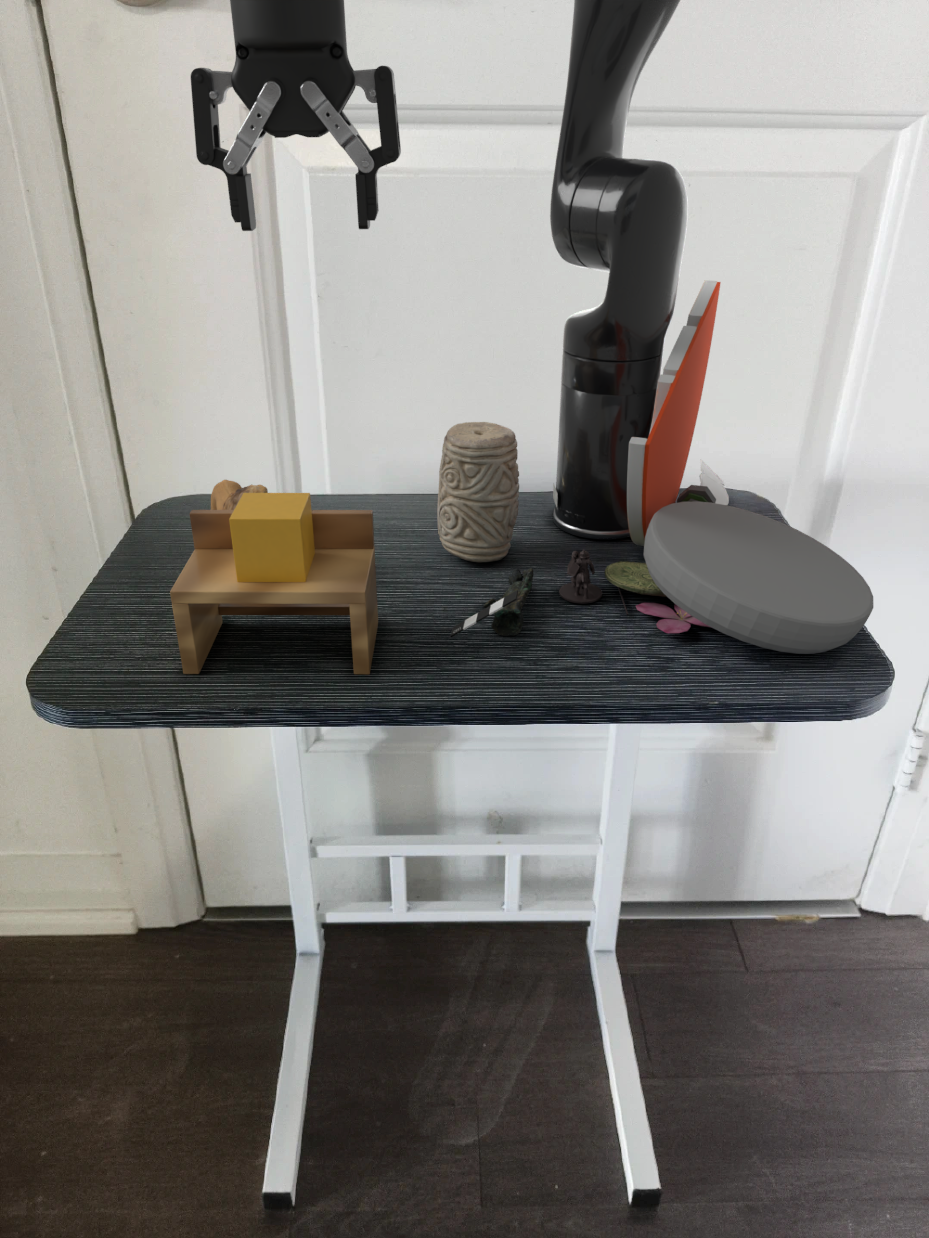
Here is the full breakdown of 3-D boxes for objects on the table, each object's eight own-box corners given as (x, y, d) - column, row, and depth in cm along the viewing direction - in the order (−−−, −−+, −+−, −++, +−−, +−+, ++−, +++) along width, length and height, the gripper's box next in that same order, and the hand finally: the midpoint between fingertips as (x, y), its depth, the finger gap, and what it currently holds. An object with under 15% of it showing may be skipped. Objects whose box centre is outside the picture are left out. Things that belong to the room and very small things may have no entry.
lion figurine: (301, 582, 86) (292, 487, 81) (245, 597, 83) (233, 500, 79) (237, 527, 96) (227, 440, 92) (186, 539, 94) (172, 450, 90)
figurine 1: (450, 636, 75) (471, 559, 85) (481, 672, 76) (498, 592, 86) (515, 598, 72) (529, 524, 82) (546, 636, 74) (556, 558, 84)
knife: (725, 495, 108) (686, 472, 108) (746, 464, 106) (706, 441, 106) (698, 576, 89) (651, 549, 90) (723, 541, 87) (674, 513, 87)
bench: (183, 674, 72) (163, 553, 68) (208, 622, 79) (191, 509, 75) (369, 674, 72) (363, 553, 68) (378, 622, 79) (372, 509, 75)
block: (237, 582, 70) (228, 518, 68) (250, 553, 75) (243, 492, 72) (305, 582, 70) (299, 519, 68) (315, 553, 75) (310, 492, 72)
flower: (650, 596, 84) (651, 586, 84) (742, 615, 81) (743, 604, 80) (618, 630, 78) (618, 619, 78) (716, 651, 74) (717, 640, 74)
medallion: (634, 599, 79) (635, 590, 78) (587, 566, 85) (589, 558, 85) (714, 597, 82) (716, 589, 82) (663, 566, 89) (665, 559, 88)
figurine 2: (614, 572, 87) (618, 531, 85) (629, 615, 80) (633, 571, 78) (554, 572, 87) (556, 531, 85) (563, 615, 80) (566, 571, 78)
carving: (525, 564, 89) (529, 438, 83) (445, 571, 87) (443, 444, 81) (508, 536, 94) (511, 416, 88) (432, 543, 93) (430, 421, 87)
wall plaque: (705, 277, 94) (628, 442, 74) (721, 279, 94) (648, 445, 74) (684, 439, 107) (615, 616, 87) (699, 441, 107) (632, 620, 87)
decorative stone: (629, 483, 83) (610, 533, 86) (685, 598, 68) (660, 655, 70) (821, 524, 87) (797, 571, 89) (916, 641, 71) (884, 694, 74)
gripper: (396, -31, 67) (405, 221, 75) (189, -29, 67) (221, 223, 75) (389, -42, 60) (400, 235, 68) (160, -40, 60) (198, 238, 68)
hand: (306, 229), depth 71 cm, fingers open, 8 cm apart
